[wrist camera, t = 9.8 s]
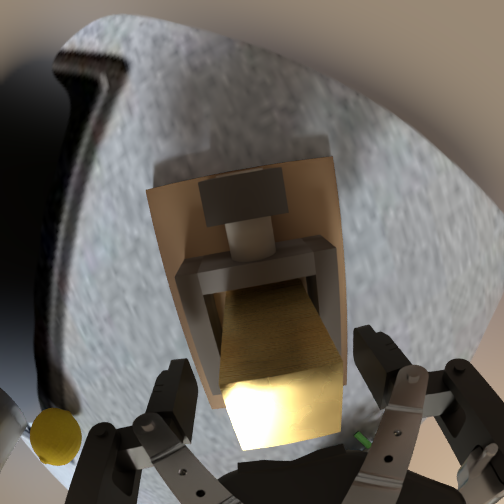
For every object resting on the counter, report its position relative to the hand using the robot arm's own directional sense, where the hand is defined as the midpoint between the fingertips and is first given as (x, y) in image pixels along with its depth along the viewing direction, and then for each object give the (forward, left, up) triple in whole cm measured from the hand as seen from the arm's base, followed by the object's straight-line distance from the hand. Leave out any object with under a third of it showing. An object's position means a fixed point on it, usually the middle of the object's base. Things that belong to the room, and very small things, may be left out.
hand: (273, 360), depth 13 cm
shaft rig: (0, 0, -7) cm, 7 cm away
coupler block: (0, 0, -5) cm, 5 cm away
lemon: (-23, -11, -7) cm, 26 cm away
